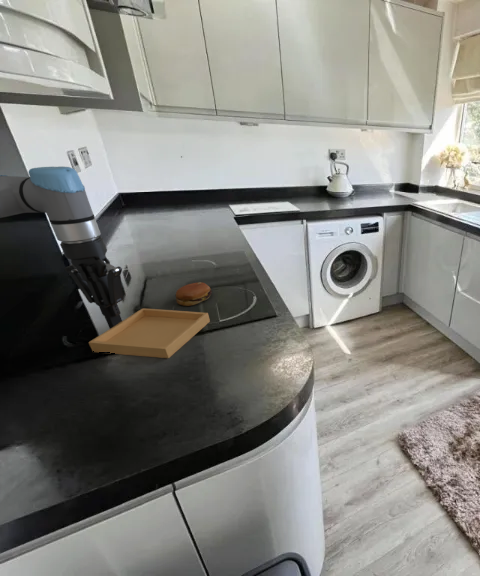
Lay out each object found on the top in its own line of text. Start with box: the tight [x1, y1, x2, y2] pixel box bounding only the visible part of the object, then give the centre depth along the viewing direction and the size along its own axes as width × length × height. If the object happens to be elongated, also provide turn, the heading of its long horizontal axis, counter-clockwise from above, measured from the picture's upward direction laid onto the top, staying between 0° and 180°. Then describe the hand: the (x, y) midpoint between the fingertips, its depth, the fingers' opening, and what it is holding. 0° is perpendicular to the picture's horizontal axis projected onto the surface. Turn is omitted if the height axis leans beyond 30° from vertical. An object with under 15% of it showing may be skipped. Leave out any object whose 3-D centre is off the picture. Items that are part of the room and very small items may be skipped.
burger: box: [175, 281, 213, 307], centre depth 101 cm, size 10×9×5 cm
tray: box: [88, 307, 211, 359], centre depth 84 cm, size 20×17×3 cm
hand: (116, 325), depth 84 cm, fingers closed
